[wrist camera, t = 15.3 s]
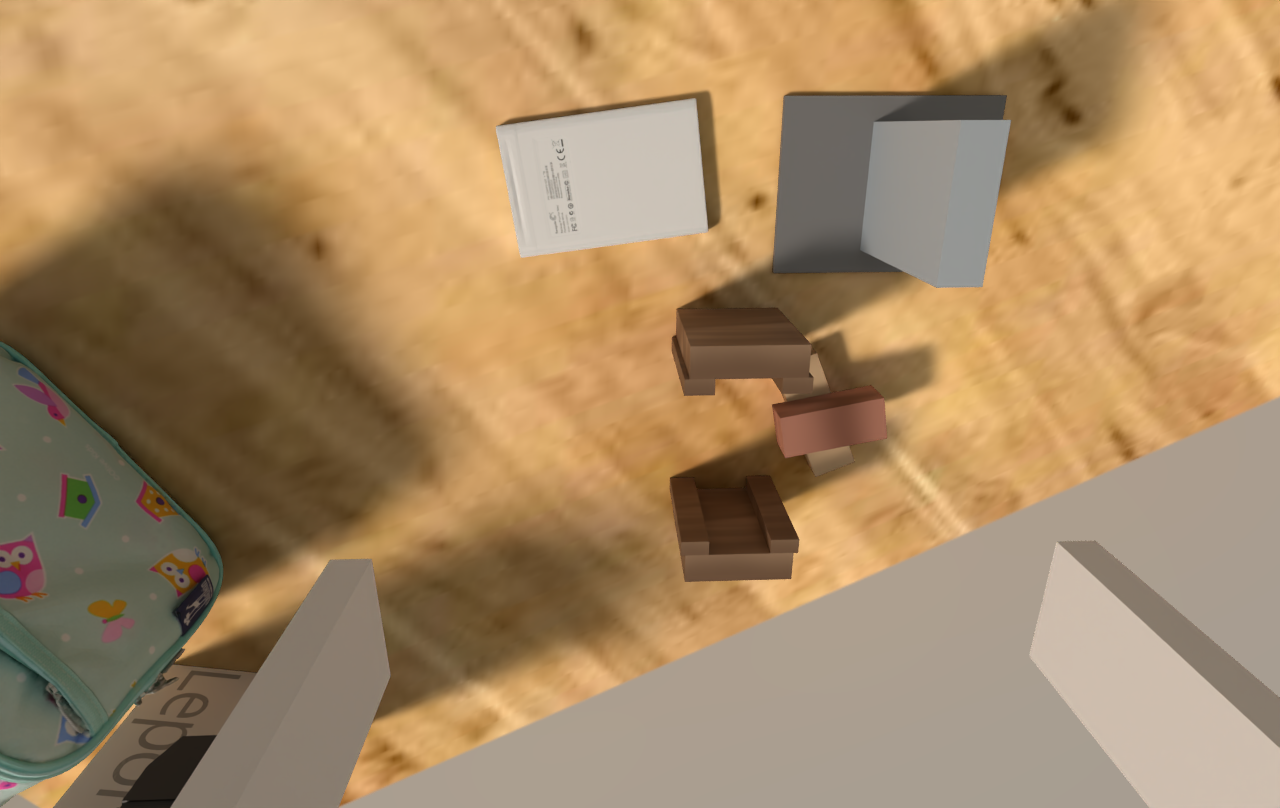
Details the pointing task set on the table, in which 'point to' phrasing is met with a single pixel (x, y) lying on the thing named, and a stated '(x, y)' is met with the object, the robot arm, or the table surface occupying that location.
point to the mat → (843, 172)
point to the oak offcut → (832, 457)
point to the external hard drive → (605, 177)
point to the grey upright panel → (934, 197)
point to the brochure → (157, 732)
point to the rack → (753, 516)
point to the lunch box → (83, 580)
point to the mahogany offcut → (830, 421)
